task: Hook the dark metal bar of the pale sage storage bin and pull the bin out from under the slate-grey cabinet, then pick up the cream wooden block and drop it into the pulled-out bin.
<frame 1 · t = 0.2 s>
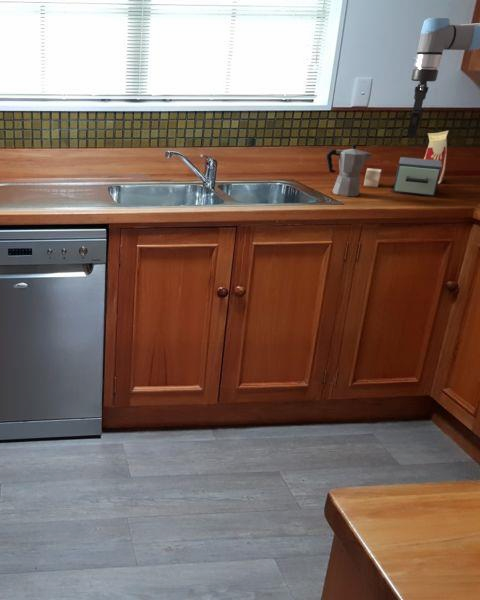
hand: (411, 133, 212), 22 cm above the table, tool pointing down, fingers open, 13 cm apart
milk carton: (428, 181, 247), on the table
block: (371, 185, 237), on the table
cabinet: (413, 190, 229), on the table
bin: (416, 178, 223), point 5 cm above the table, slide at 0.0 cm
coffeepot: (342, 194, 223), on the table
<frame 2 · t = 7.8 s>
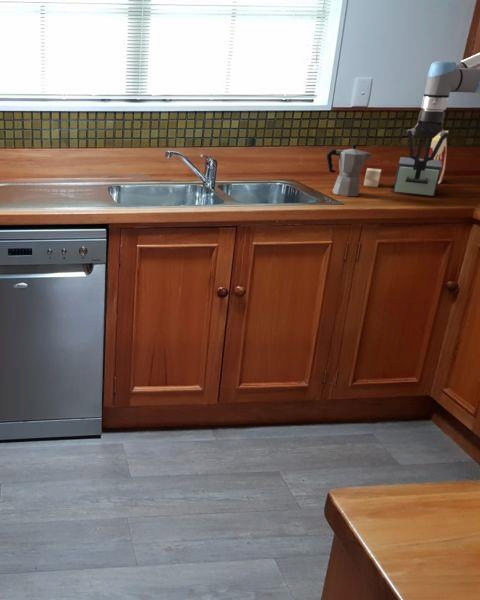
hand: (416, 179, 215), 7 cm above the table, tool pointing down, fingers closed
bin: (416, 179, 222), point 5 cm above the table, slide at 1.2 cm, touching gripper
everything else where it was.
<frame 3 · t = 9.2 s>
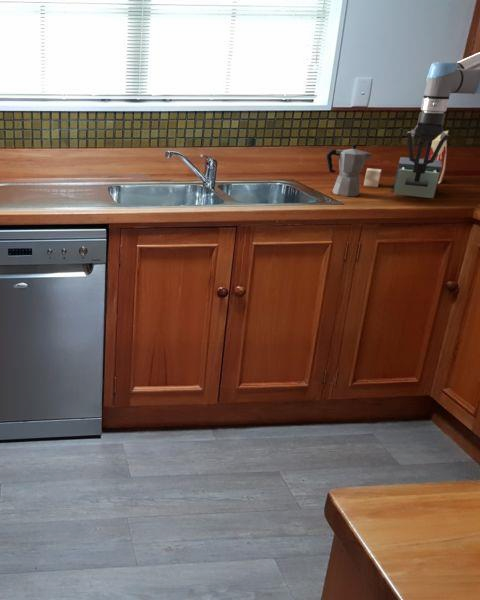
hand: (416, 182, 211), 7 cm above the table, tool pointing down, fingers closed
bin: (416, 181, 218), point 5 cm above the table, slide at 6.5 cm, touching gripper
everything else where it was.
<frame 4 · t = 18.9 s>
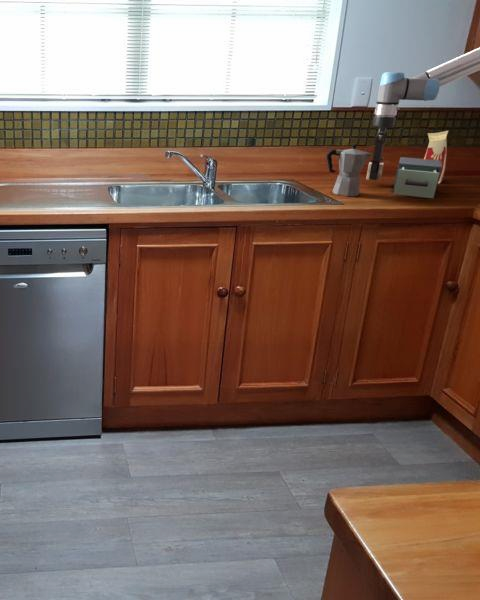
hand: (373, 178, 236), 3 cm above the table, tool pointing down, fingers closed on block, 5 cm apart
block: (373, 178, 236), point 2 cm above the table, touching gripper
bin: (416, 181, 218), point 5 cm above the table, slide at 6.6 cm
everything else where it was.
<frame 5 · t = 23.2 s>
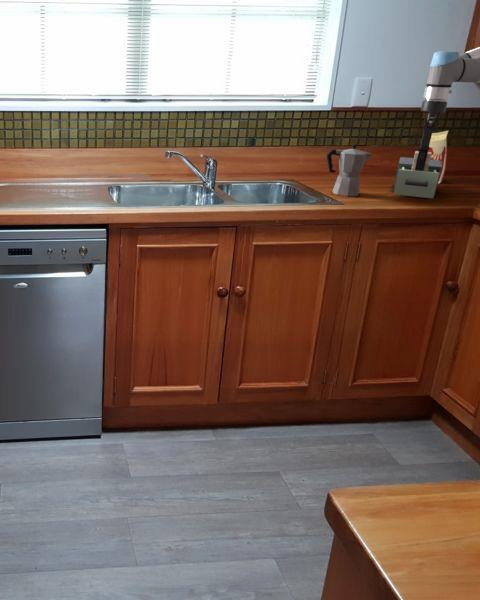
hand: (419, 168, 215), 10 cm above the table, tool pointing down, fingers closed on block, 5 cm apart
block: (419, 169, 215), point 10 cm above the table, touching bin, gripper
bin: (416, 181, 218), point 5 cm above the table, slide at 6.7 cm, touching block
everything else where it was.
when the fingers open (10 cm above the table, at t = 23.3 s): block drops 1 cm and tips over, resting on bin, cabinet.
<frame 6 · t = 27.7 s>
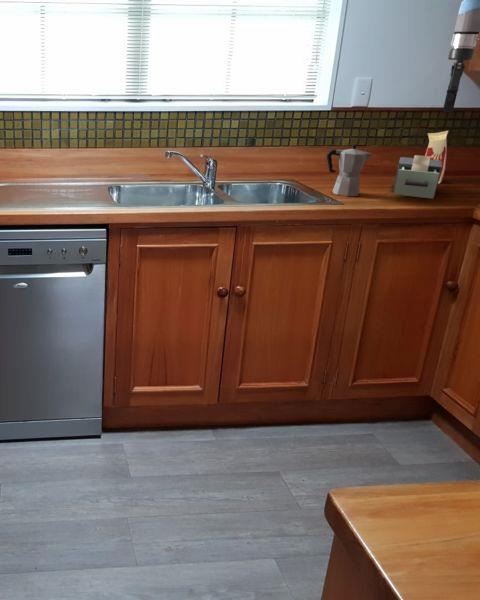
hand: (447, 111, 221), 29 cm above the table, tool pointing down, fingers open, 13 cm apart
block: (418, 174, 215), point 8 cm above the table, tilted 37°, touching bin, cabinet
bin: (416, 182, 217), point 5 cm above the table, slide at 7.0 cm, touching block
everything else where it was.
at the end: bin slide at 7.0 cm; block inside the target area in the bin (1.2 cm from its centre), point 8.3 cm above the cabinet's base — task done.
